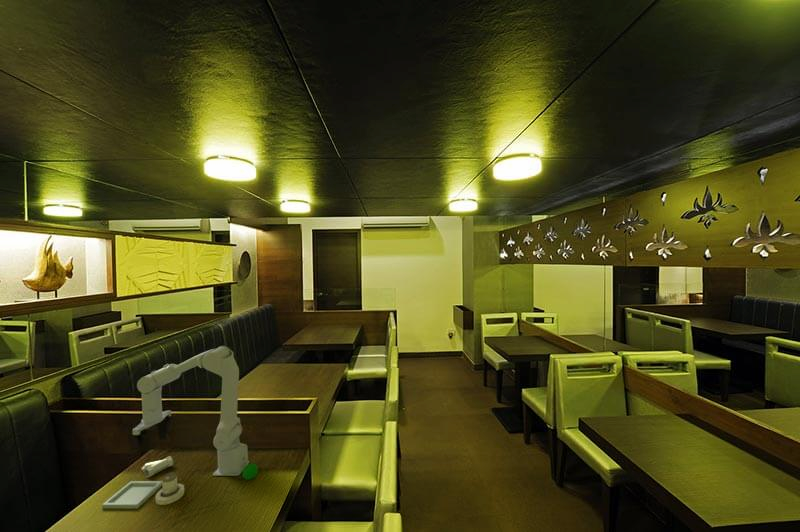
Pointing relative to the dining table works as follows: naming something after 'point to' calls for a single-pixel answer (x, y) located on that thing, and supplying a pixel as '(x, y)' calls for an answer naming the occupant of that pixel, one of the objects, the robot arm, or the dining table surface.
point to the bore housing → (170, 499)
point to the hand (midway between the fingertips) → (154, 444)
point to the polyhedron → (250, 471)
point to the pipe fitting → (157, 466)
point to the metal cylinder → (169, 484)
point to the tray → (132, 495)
